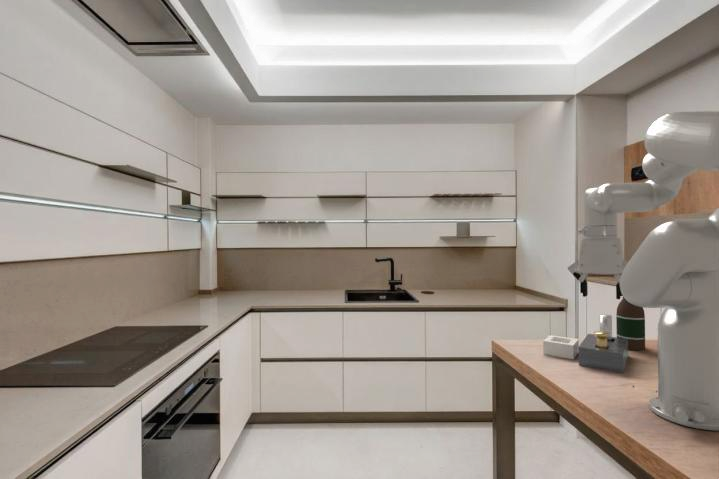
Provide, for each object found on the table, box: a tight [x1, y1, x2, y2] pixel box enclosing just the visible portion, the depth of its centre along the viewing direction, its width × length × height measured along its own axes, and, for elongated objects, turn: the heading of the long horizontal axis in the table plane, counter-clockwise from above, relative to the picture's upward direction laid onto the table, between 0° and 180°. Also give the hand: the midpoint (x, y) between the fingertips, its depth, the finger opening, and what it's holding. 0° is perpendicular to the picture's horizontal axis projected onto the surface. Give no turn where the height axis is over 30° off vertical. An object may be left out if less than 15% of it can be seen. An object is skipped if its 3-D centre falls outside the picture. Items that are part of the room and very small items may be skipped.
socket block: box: [578, 333, 629, 374], centre depth 105 cm, size 17×10×6 cm, turn 140°
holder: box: [542, 334, 580, 360], centre depth 112 cm, size 8×8×5 cm
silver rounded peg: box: [599, 314, 613, 342], centre depth 108 cm, size 3×3×12 cm
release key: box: [593, 330, 610, 349], centre depth 102 cm, size 4×4×6 cm
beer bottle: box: [615, 296, 646, 352], centre depth 116 cm, size 8×8×24 cm
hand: (601, 296), depth 101 cm, fingers open, 7 cm apart
